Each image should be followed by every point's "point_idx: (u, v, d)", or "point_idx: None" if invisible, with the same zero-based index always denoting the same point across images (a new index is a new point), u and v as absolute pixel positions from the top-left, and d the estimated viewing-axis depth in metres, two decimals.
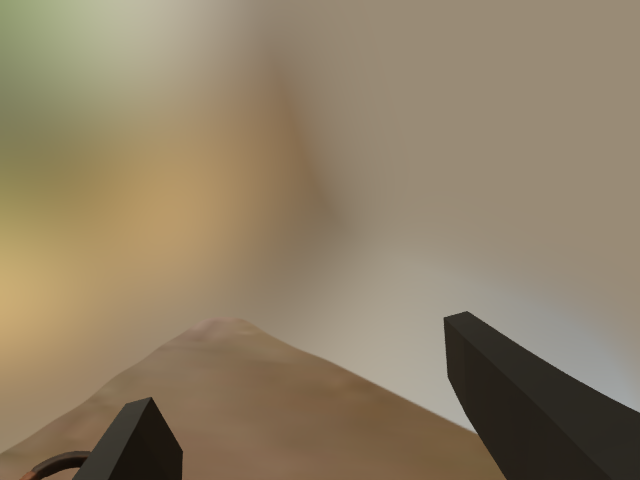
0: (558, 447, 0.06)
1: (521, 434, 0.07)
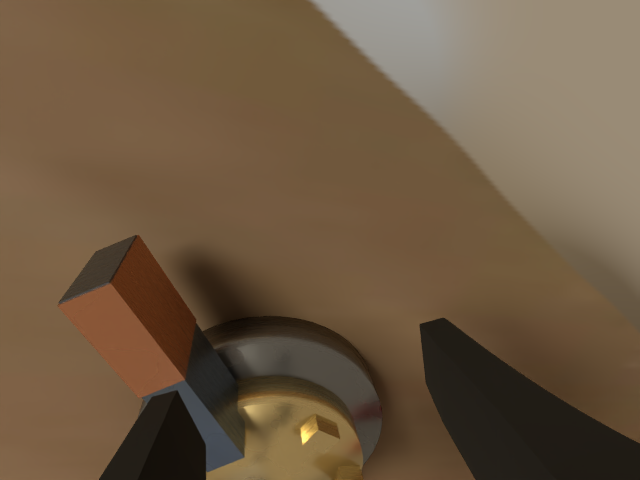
0: (521, 458, 0.06)
1: (489, 443, 0.07)
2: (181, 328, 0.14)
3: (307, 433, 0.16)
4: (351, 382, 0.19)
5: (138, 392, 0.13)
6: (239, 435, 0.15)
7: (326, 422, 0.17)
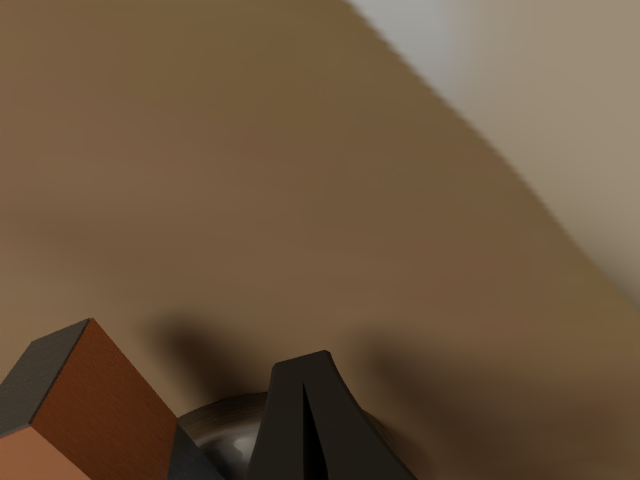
0: None
1: None
2: (154, 446, 0.10)
3: None
4: None
5: None
6: None
7: None
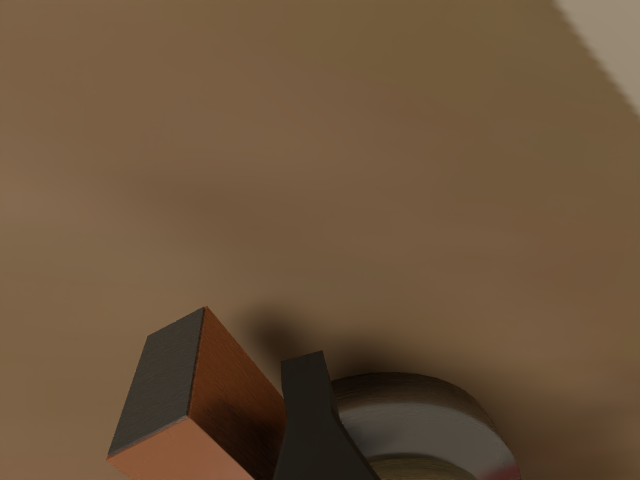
0: None
1: None
2: (280, 434, 0.10)
3: None
4: (492, 458, 0.14)
5: None
6: None
7: None
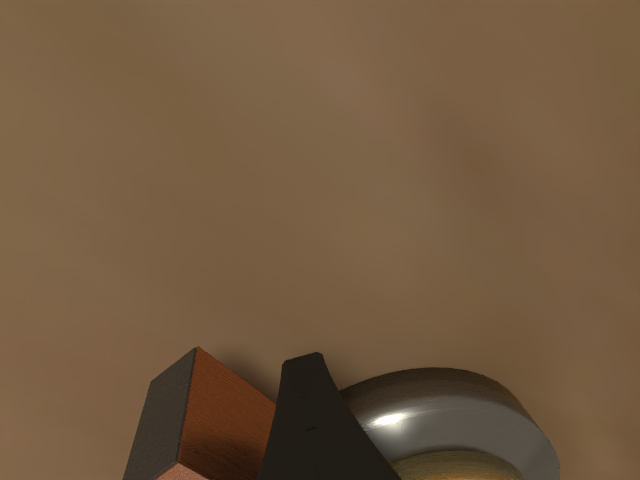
0: None
1: None
2: None
3: None
4: None
5: None
6: None
7: None
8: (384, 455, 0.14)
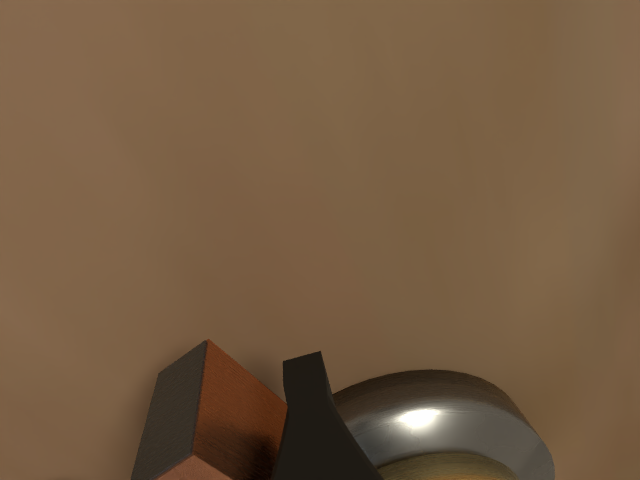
0: None
1: None
2: None
3: None
4: None
5: None
6: None
7: None
8: (449, 443, 0.14)
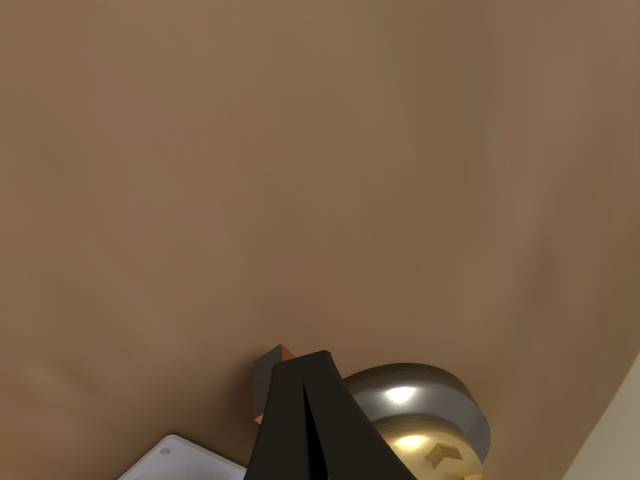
0: None
1: None
2: None
3: (435, 460, 0.20)
4: None
5: None
6: None
7: (448, 448, 0.20)
8: (418, 408, 0.22)
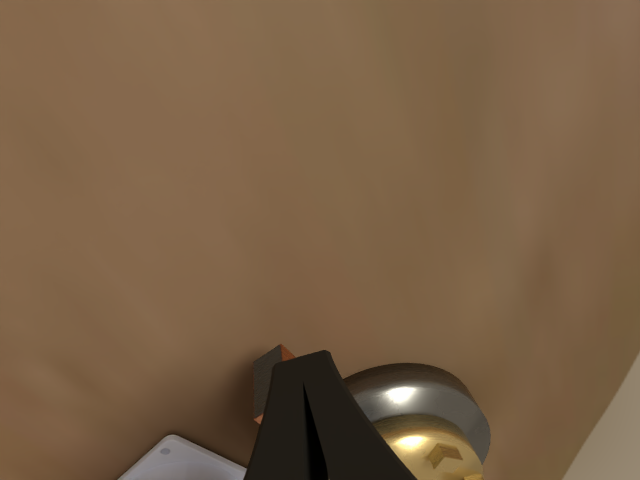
0: None
1: None
2: None
3: (435, 460, 0.20)
4: None
5: None
6: None
7: (448, 448, 0.20)
8: (418, 408, 0.22)
